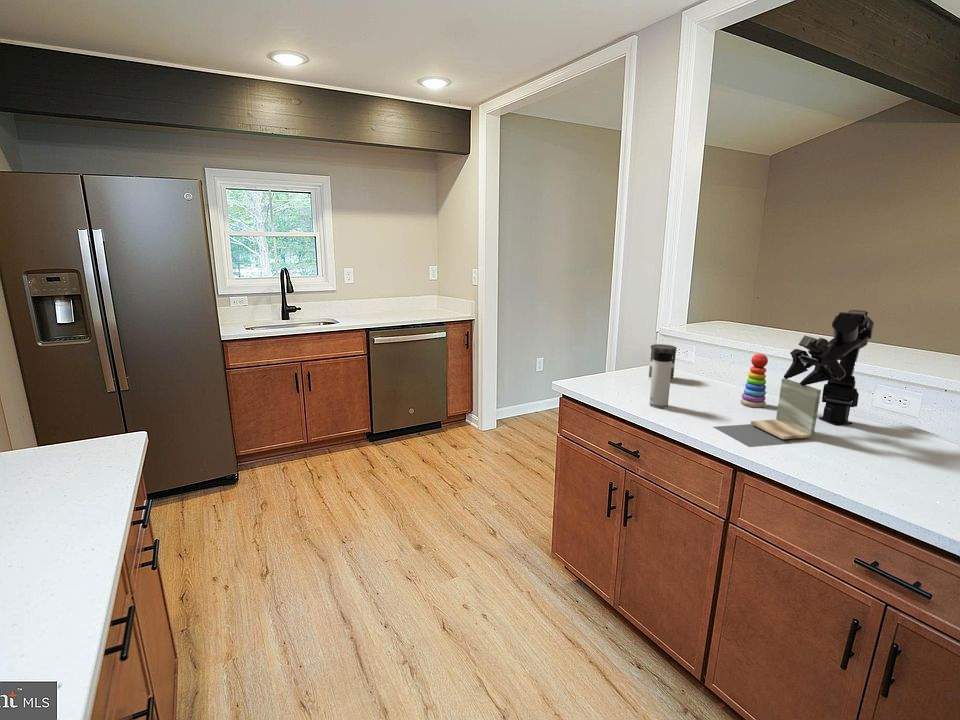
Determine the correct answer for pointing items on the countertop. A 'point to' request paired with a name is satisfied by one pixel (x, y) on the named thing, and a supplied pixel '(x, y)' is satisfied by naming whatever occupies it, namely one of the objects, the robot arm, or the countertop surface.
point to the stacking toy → (756, 383)
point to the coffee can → (662, 349)
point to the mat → (751, 435)
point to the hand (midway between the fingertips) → (792, 381)
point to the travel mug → (660, 379)
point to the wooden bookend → (793, 412)
